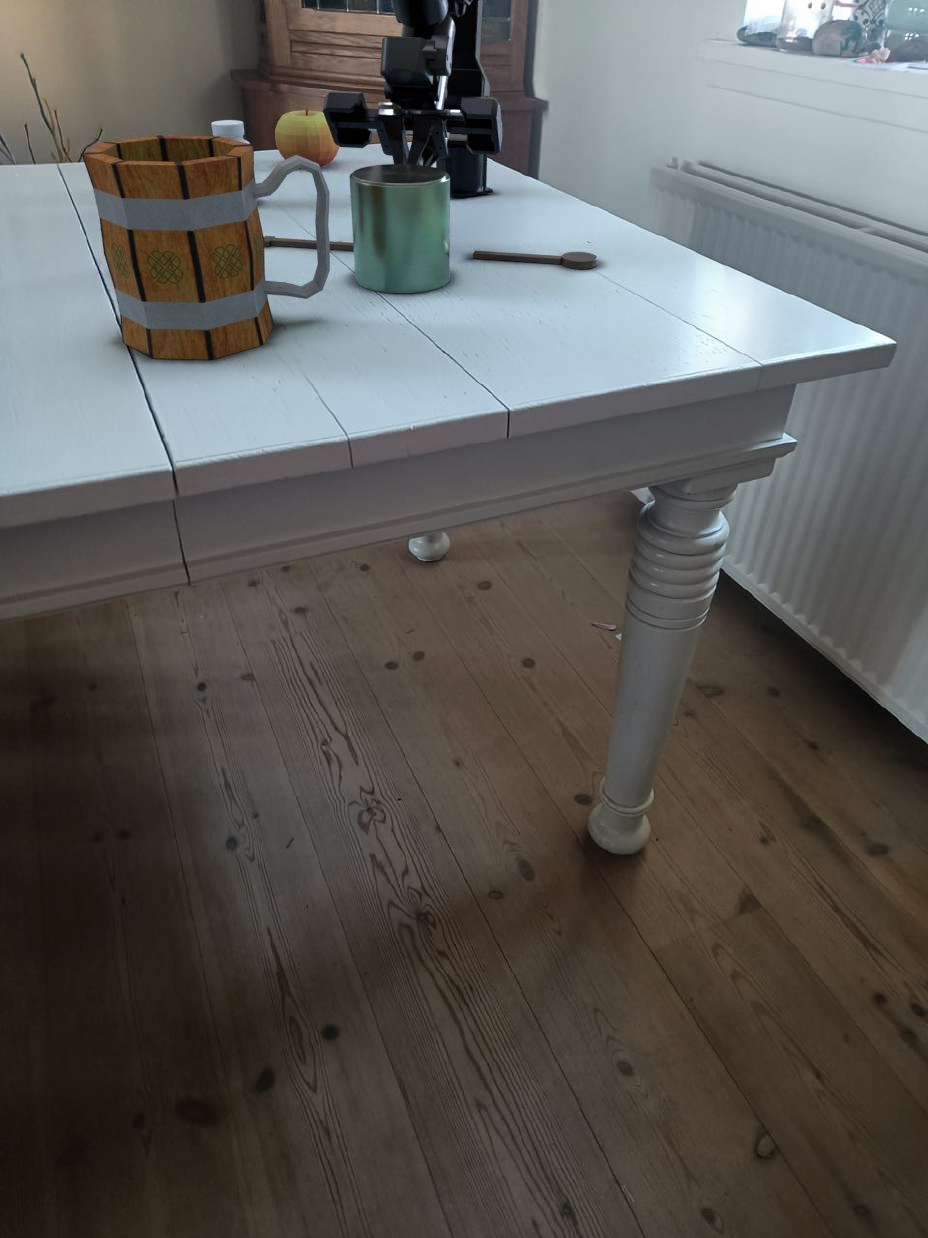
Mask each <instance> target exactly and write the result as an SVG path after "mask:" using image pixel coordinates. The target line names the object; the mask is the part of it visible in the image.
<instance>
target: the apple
mask: <svg viewBox="0 0 928 1238" xmlns="http://www.w3.org/2000/svg"><path fill="white" fill-rule="evenodd" d="M274 139H275V145H276V148H277V150H278V152H279V154H280V156H281V157H282V158H283V160H286V159H288V158H290V157H292V156H294V155H298V156H301V157H303V158H305V159H308V160H310V161H313V162H315V163H318V164H319V166H320V168H322V167H326V166H327V165H329V164H330V163H331V162H332V161H333V160H334V159H335V158H336V156H337V155H338V152H339V149H340V148H341V147H340V146H338V145H336V144H335V143H334V140H333V138H332V135H331V132H330V130H329V127H328V124H327V122H326V119H325V116H324V114H323V111H320V110H319V111H317V110H310V109H309V108H305V109H304V110H293V111H288V112H286V113H283V114H282V115H281V117H280V118H279V120H278V121H277V123H276V126H275V129H274Z"/></svg>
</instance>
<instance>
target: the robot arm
mask: <svg viewBox="0 0 928 1238" xmlns="http://www.w3.org/2000/svg"><path fill="white" fill-rule="evenodd" d="M391 3H392V4H391V5H392V8H393V12H394V16H395V20H396V21H397V23H398V24H402V29H401V34H400V36H385V37H383V38H382V39H381V51H380V52H381V53H380V66H379V67H380V68H379V74H380V76H381V77H383V79H384V86H383V93H384V94H383V95H384V98H385V100H390V101H388V102H387V101H379V102H378V103H377V108H368V105H367V100H366V98H365V95H364V92H363V91H346V90H331V91H329V92H328V93H327V94H326V96H325V97H324V102H323V106H322V112H323V114H324V116H325V119H326V122H327V124H328V127H329V130H330V132H331V135H332V138H333V140H334V143H335V144H336V145H338V146H340V147H339V148H346V149H364V148H366V147H367V146H368V145H369V144H371V142H372V137H373V132H377V137H378V140H379V144H380V147H381V151H382V152H383V154H384V155H386V156H389V157H392V161H393V162H392V163H393V164H414V165H424V166H430V167H433V165H435V168H439V169H441V170H444V171H445V172H446V173H448V174H449V175H450V197H453V198H458V199H460V198H465V197H472V196H480V195H488V194H493V193H494V189H493V188H491V187H488V186H487V185H488V184H487V182H488V181H487V180H488V179H487V178H488V156H497V155H499V153H501V149H502V144H503V143H502V141H503V122H502V113H501V104H500V102H499V101H498V100H497V97H493V96H491V84H490V82H489V80H488V77H487V75H486V73H485V70H484V68H483V66H482V63H481V42H482V41H481V40H482V24H483V23H482V22H483V3H484V0H391ZM408 134H412V139H411V143H410V147H409V143H408V139H407V136H408Z"/></svg>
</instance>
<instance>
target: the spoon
mask: <svg viewBox="0 0 928 1238" xmlns="http://www.w3.org/2000/svg"><path fill="white" fill-rule="evenodd" d="M472 259H476V260H490V261H503V262H504V261H507V262H519V263H520V262H522V263H536V264H537V263H538V264H552V265H561V266H563V267H566V268H569V269H574V270H587V269H593V268H596V267H597V266H598V259H599V258H598V256H597V255H596V254H594V253H592V252H591V253H590V252H586V251H570V252H569V251H568V252H565V253H563V254H562V255H555V254H553V255H552V254H536V253H524V252H523V253H520V252H505V251H489V250H477V249H476V250H474V251H473V253H472Z"/></svg>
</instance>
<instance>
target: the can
mask: <svg viewBox="0 0 928 1238" xmlns="http://www.w3.org/2000/svg"><path fill="white" fill-rule="evenodd" d="M348 178H349V193H350V207H351V208H350V211H351V227H352V243H353V246H354V251H353V258H354V259H353V260H354V262H353V263H354V277H355V278H354V279H355V282H356V283H357V285H359V286H361V287H363V288H364V289H368V290H371V291H375V292H378V293H379V292H380V293H389V294H417V293H424V292H430V291H433V290H437V289H440V288H442V287H444V286H446V285H447V284H448V283H449V282H450V278H451V277H450V276H451V275H450V269H451V267H450V265H451V264H450V261H451V257H450V255H451V254H450V249H451V248H450V247H451V241H450V240H451V239H450V237H451V235H450V233H451V229H450V228H451V221H450V220H451V196H450V175H449V174H448V173H446V172H445V171H444V170H441V169H439V168H436V166H435V167H434V166H431V167H430V166H424V165H414V164H394V163H385V164H375V165H369V166H368V165H367V166H364V167H360V168H357V169H355V170H354V171H352V172H351V173H350V174H349V177H348Z"/></svg>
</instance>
